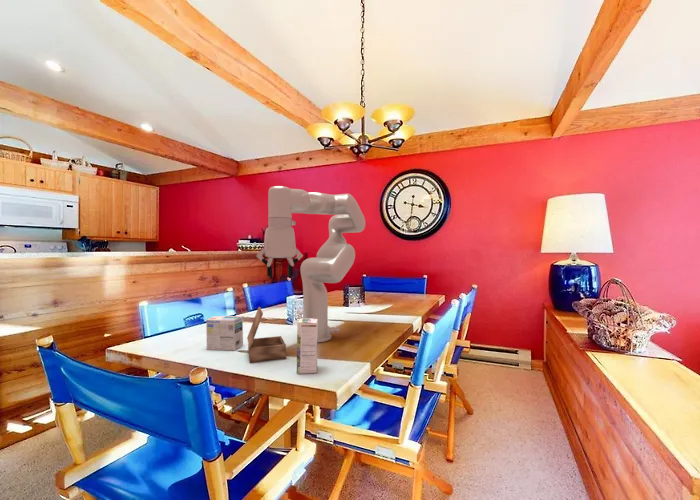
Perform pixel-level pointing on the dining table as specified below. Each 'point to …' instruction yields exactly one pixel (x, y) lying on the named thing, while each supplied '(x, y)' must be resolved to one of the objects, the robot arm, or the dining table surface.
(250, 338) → the lid
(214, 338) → the light bulb box
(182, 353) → the dining table surface
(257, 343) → the box
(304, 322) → the syrup box
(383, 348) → the dining table surface
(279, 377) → the dining table surface
